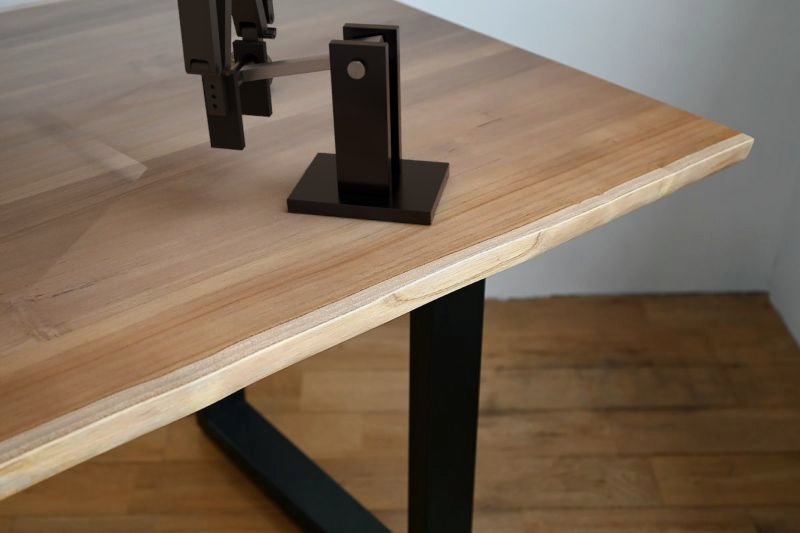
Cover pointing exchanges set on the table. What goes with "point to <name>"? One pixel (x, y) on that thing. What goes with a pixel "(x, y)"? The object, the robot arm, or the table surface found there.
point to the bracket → (368, 140)
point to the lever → (285, 65)
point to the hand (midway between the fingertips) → (242, 129)
